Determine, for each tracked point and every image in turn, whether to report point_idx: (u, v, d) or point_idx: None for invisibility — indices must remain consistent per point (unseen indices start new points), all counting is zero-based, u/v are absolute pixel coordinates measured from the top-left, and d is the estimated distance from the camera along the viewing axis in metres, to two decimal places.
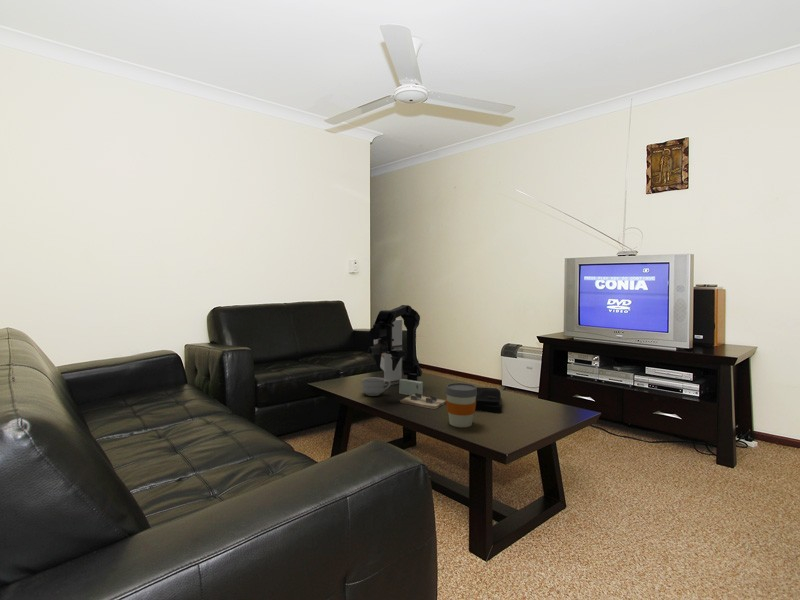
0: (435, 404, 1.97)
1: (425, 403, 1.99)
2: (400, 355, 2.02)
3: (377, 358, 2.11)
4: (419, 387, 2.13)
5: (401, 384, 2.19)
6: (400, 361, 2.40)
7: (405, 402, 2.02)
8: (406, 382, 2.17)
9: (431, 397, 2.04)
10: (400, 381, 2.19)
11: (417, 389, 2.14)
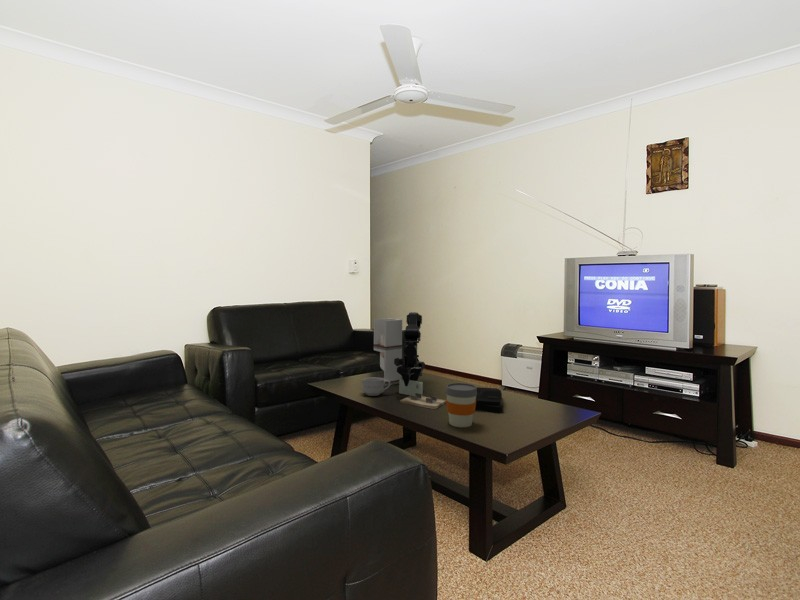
0: (435, 404, 1.97)
1: (425, 403, 1.99)
2: (399, 371, 2.10)
3: (414, 372, 2.22)
4: (419, 387, 2.13)
5: (401, 384, 2.19)
6: None
7: (405, 402, 2.02)
8: None
9: (431, 397, 2.04)
10: (400, 381, 2.19)
11: (417, 389, 2.14)
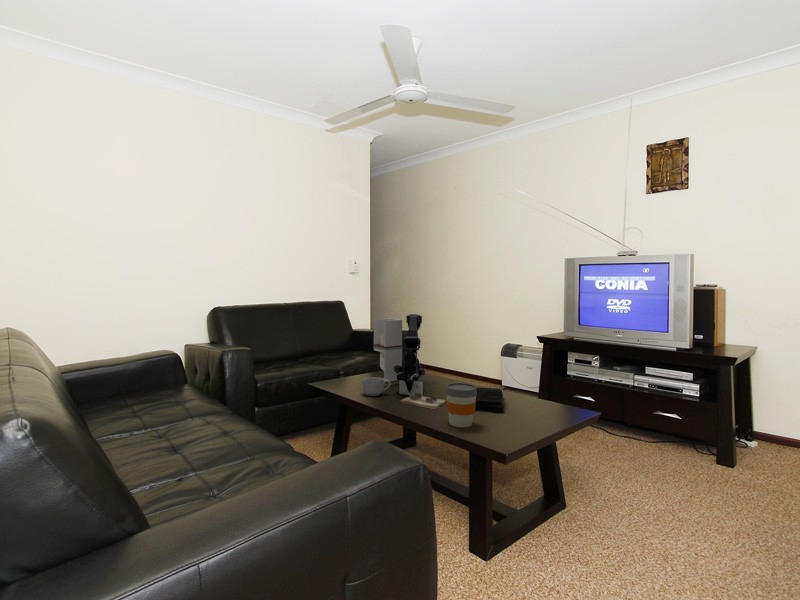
0: (435, 404, 1.97)
1: (425, 403, 1.99)
2: (399, 379, 2.10)
3: None
4: (419, 386, 2.13)
5: (401, 383, 2.19)
6: (400, 361, 2.40)
7: (405, 402, 2.02)
8: None
9: (431, 397, 2.04)
10: (400, 381, 2.19)
11: (417, 389, 2.14)
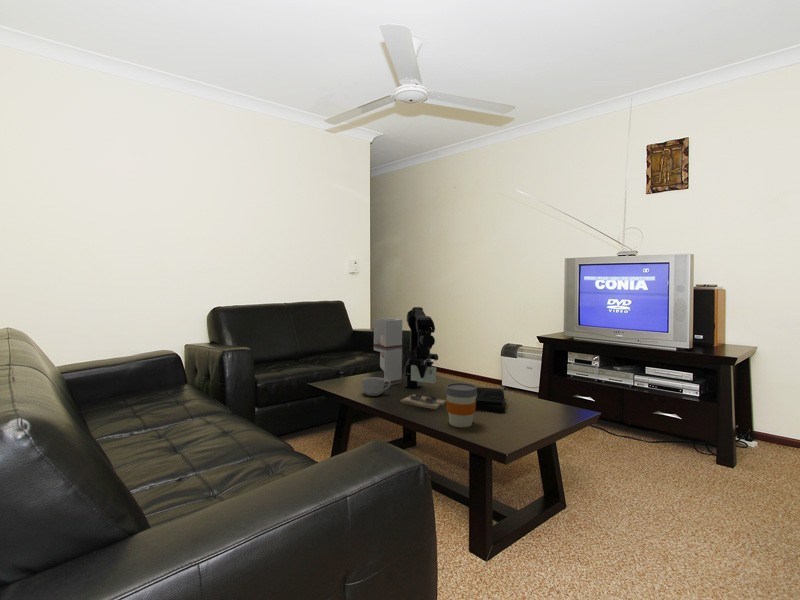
0: (435, 404, 1.97)
1: (425, 403, 1.99)
2: (412, 363, 1.95)
3: None
4: (433, 372, 1.99)
5: (412, 370, 2.05)
6: (400, 361, 2.40)
7: (405, 402, 2.02)
8: None
9: (431, 397, 2.04)
10: (412, 367, 2.05)
11: (430, 375, 2.00)
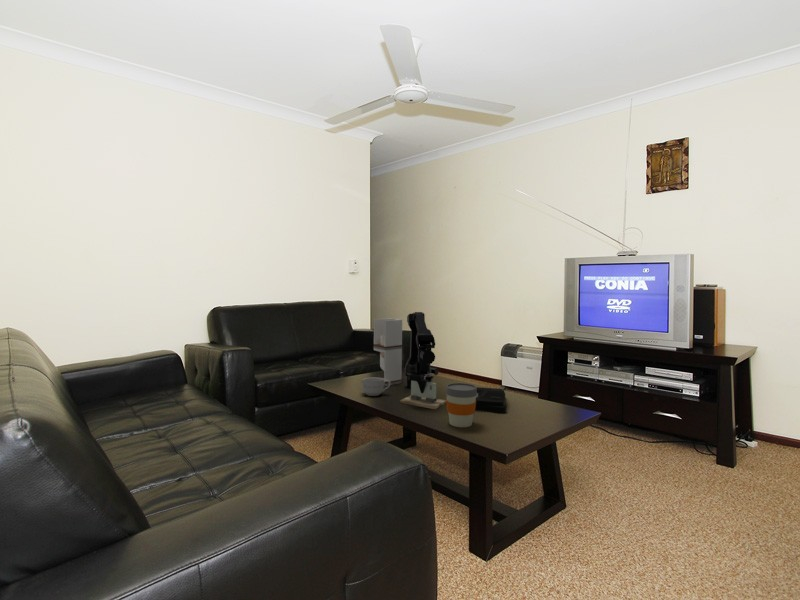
0: (435, 404, 1.97)
1: (425, 403, 1.99)
2: (412, 379, 1.96)
3: None
4: (433, 388, 2.00)
5: (412, 385, 2.05)
6: (400, 361, 2.40)
7: (405, 402, 2.02)
8: None
9: None
10: (412, 382, 2.05)
11: (430, 391, 2.00)
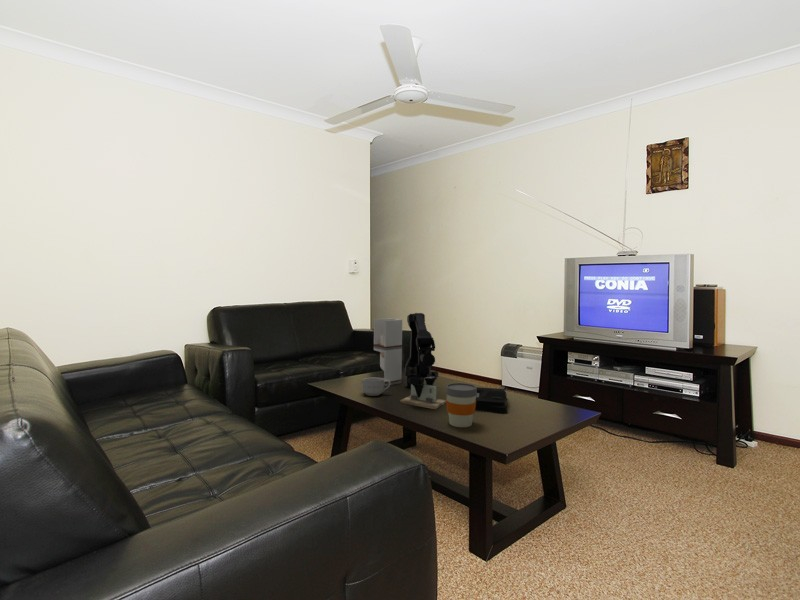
0: (435, 404, 1.97)
1: (425, 403, 1.99)
2: (412, 381, 1.96)
3: (427, 382, 2.08)
4: (433, 391, 2.00)
5: (412, 388, 2.05)
6: (400, 361, 2.40)
7: (405, 402, 2.02)
8: None
9: None
10: (412, 385, 2.05)
11: (430, 394, 2.00)
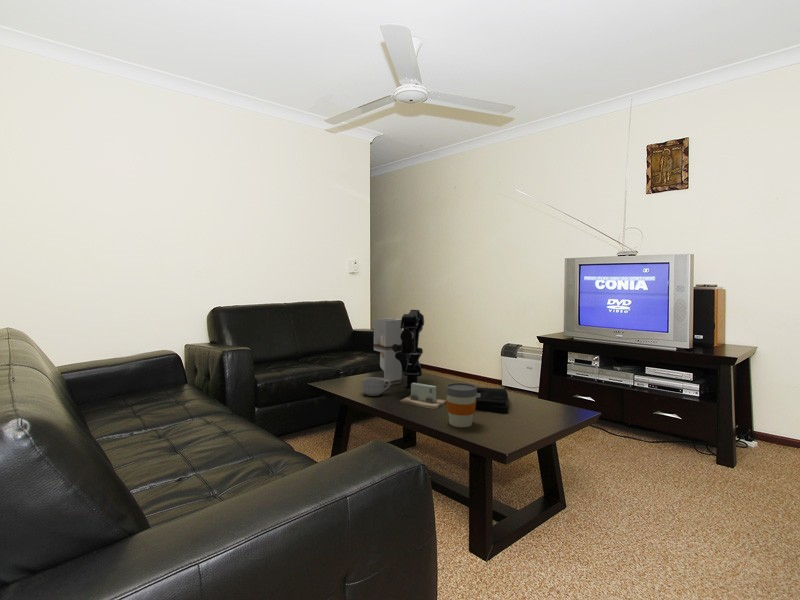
0: (435, 404, 1.97)
1: (425, 403, 1.99)
2: (398, 357, 2.11)
3: (412, 358, 2.24)
4: (433, 391, 2.00)
5: (412, 388, 2.05)
6: None
7: (405, 402, 2.02)
8: (418, 386, 2.03)
9: None
10: (412, 385, 2.05)
11: (430, 394, 2.00)
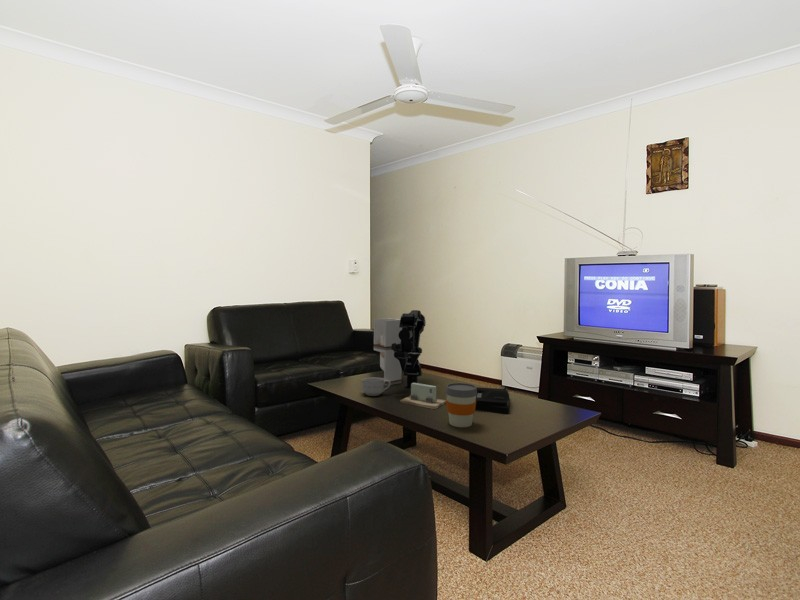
0: (435, 404, 1.97)
1: (425, 403, 1.99)
2: (396, 356, 2.12)
3: (411, 358, 2.24)
4: (433, 391, 2.00)
5: (412, 388, 2.05)
6: None
7: (405, 402, 2.02)
8: (418, 386, 2.03)
9: None
10: (412, 385, 2.05)
11: (430, 394, 2.00)
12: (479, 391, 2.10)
